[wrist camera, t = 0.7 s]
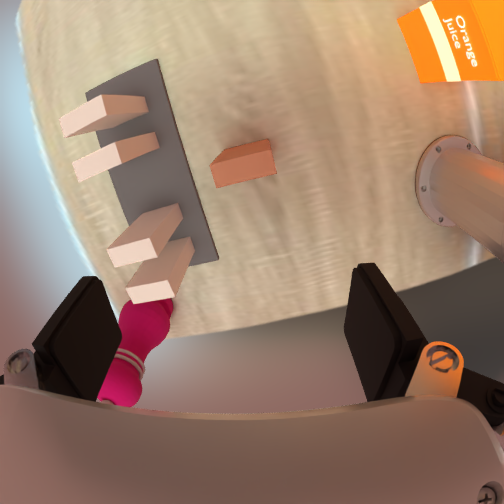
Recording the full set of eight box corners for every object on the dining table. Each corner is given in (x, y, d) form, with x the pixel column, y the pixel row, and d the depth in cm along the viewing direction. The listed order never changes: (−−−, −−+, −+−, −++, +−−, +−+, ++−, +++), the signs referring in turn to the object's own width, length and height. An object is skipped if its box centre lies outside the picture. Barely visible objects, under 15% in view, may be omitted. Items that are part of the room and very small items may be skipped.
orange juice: (419, 83, 26) (545, 85, 8) (395, 19, 22) (502, -29, 4) (462, 78, 24) (580, 87, 7) (441, 18, 21) (548, -9, 3)
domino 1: (108, 112, 28) (59, 118, 19) (144, 96, 28) (101, 94, 19) (112, 127, 29) (64, 138, 20) (148, 112, 29) (106, 115, 20)
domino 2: (118, 146, 30) (72, 162, 21) (154, 131, 30) (114, 142, 21) (123, 161, 31) (78, 182, 22) (159, 147, 30) (121, 163, 22)
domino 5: (224, 149, 31) (209, 165, 22) (267, 138, 30) (271, 149, 22) (229, 166, 32) (216, 188, 23) (272, 155, 31) (276, 173, 22)
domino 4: (154, 245, 36) (125, 288, 27) (189, 236, 36) (167, 280, 27) (160, 258, 37) (133, 304, 28) (195, 250, 36) (175, 297, 27)
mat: (157, 59, 26) (155, 58, 26) (219, 257, 37) (218, 260, 37) (87, 93, 27) (85, 93, 27) (151, 272, 39) (150, 274, 38)
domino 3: (142, 213, 34) (106, 249, 25) (177, 202, 34) (149, 237, 25) (147, 227, 35) (114, 267, 26) (183, 218, 34) (157, 257, 26)
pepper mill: (186, 309, 42) (150, 427, 24) (154, 327, 44) (113, 433, 26) (153, 274, 39) (93, 387, 21) (122, 295, 41) (64, 398, 23)
